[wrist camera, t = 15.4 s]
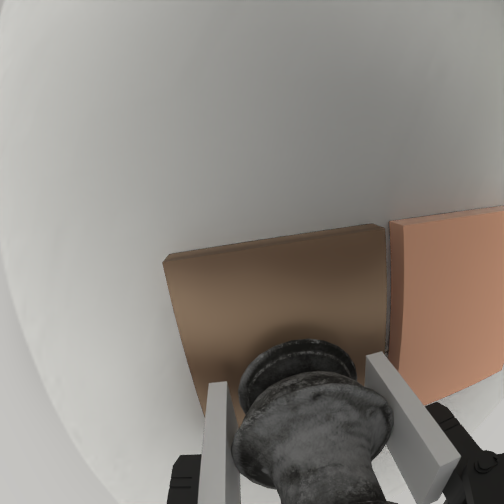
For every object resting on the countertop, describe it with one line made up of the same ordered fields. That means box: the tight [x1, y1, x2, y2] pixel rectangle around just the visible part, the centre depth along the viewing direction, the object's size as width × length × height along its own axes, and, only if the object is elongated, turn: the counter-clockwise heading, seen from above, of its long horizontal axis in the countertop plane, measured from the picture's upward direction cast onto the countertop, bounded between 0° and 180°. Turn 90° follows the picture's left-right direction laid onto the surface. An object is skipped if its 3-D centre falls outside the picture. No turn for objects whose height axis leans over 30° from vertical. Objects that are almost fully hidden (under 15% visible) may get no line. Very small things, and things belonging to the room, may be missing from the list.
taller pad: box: [388, 206, 504, 405], centre depth 16 cm, size 12×10×2 cm
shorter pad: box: [162, 224, 387, 429], centre depth 15 cm, size 12×10×2 cm
